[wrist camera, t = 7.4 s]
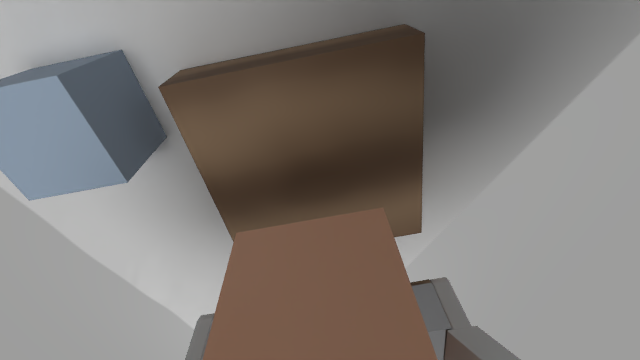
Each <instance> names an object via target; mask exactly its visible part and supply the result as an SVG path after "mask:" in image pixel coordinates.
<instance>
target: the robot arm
mask: <svg viewBox="0 0 640 360" xmlns="http://www.w3.org/2000/svg"><path fill="white" fill-rule="evenodd" d="M410 284H411V286H412V289H413V292H414V295H415V298H416V300H417V303H418V306H419V309H420V312H421V314H422V317H423V320H424V323H425V326H426V328H427V331H428V334H429V337H430V340H431V342H432V345H433V348H434V351H435V354H436V356H437V359H438V360H520V359H519V358H518V357H516V356H515V355H514V354H513V353H511V352H510V351H509V350H507V349H506V348H505V347H503V346H502V345H501V344H500V343H498V342H497V341H496V340H494V339H493V338H492V337H491V336H489V335H488V334H487V333H485V332H484V331H483V330H481V329H480V328H479V327H478V326H471V324H470V322H469V320H468V318H467V317H466V314H465V312H464V310H463V308H462V306H461V304H460V302H459V300H458V298H457V296H456V294H455V292H454V290H453V288H452V286H451V284H450V282H449V280H448V279H447V278H445V277H443V278H437V279H432V280H429V279H428V280H423V281H417V282H412V283H410ZM214 315H215V313H213V314H207V315H201V316H200V318H199V319H198V321H197V323H196V327H195V330H194V333H193V336H192V339H191V342H190V346H189V349H188V352H187V355H186V358H185V360H203V356H204V352H205V348H206V345H207V341H208V337H209V333H210V330H211V326H212V322H213V318H214Z"/></svg>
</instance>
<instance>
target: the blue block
mask: <svg viewBox="0 0 640 360" xmlns="http://www.w3.org/2000/svg"><path fill="white" fill-rule="evenodd" d="M166 137H167V136H166V134H165V132H164V130H163V128H162V126H161V124H160V123H159V121H158V119H157V117H156V115H155V113H154V111H153V109H152V107H151V105H150V103H149V101H148V99H147V98H146V96H145V94H144V92H143V90H142V88H141V86H140V84H139V82H138V80H137V78H136V76H135V74H134V72H133V71H132V69H131V67H130V65H129V63H128V61H127V59H126V57H125V55H124V53H123V51H122V50H119V51H114V52H109V53H104V54H100V55H95V56H90V57H86V58H81V59H76V60H71V61H67V62H62V63H57V64H52V65H48V66H43V67H38V68H34V69H30V70H27V71H24V72H21V73H18V74H15V75H12V76H9V77H6V78H3V79H0V170H1V171H2V172H3V173H4V174H5V175H6V176H7V177H8V178H9V180H10V181H11V182H12V183H13V184H14V185H15V186H16V187H17V188H18V189H19V190H20V191H21V192H22V193H23V195H24V196H25V197H26V198H27V199H28V200H29V201H30V200H35V199H40V198H46V197H51V196H57V195H62V194H68V193H73V192H79V191H84V190H89V189H95V188H100V187H106V186H111V185H117V184H122V183H127V182H128V181H129V180H130V179H131V178H132V177H133V176H134V174H135V173H136V172H137V171H138V170H139V169H140V167H141V166H142V165H143V164H144V163H145V162H146V160H147V159H148V158H149V157H150V156H151V155H152V153H153V152H154V151H155V150H156V149H157V148H158V146H159V145H160V144H161V143H162V142H163V141H164V139H165V138H166Z"/></svg>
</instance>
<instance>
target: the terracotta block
mask: <svg viewBox="0 0 640 360" xmlns="http://www.w3.org/2000/svg"><path fill="white" fill-rule="evenodd" d="M203 360H438V359H437V356H436V354H435V351H434V348H433V345H432V342H431V340H430V337H429V334H428V331H427V328H426V326H425V323H424V320H423V317H422V314H421V312H420V309H419V306H418V303H417V300H416V298H415V295H414V292H413V289H412V286H411V284H410V281H409V278H408V275H407V273H406V270H405V267H404V264H403V261H402V258H401V256H400V253H399V250H398V247H397V244H396V242H395V239H394V236H393V233H392V230H391V228H390V225H389V222H388V219H387V216H386V214H385V211H384V208H383V207H382V208H377V209H371V210H365V211H359V212H353V213H348V214H342V215H336V216H330V217H325V218H319V219H313V220H307V221H301V222H296V223H290V224H284V225H278V226H272V227H267V228H261V229H255V230H249V231H244V232H238V233H236V236H235V240H234V243H233V247H232V251H231V255H230V258H229V262H228V266H227V270H226V273H225V277H224V281H223V285H222V288H221V292H220V296H219V300H218V303H217V307H216V311H215V315H214V318H213V322H212V326H211V330H210V333H209V337H208V341H207V345H206V348H205V352H204V356H203Z"/></svg>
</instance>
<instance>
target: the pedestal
mask: <svg viewBox="0 0 640 360" xmlns="http://www.w3.org/2000/svg"><path fill="white" fill-rule="evenodd" d="M424 47H425V33H424V32H422V31H419V30H417V29H415V28H412V27H410V26H408V25H405V24H403V25H398V26H393V27H389V28H384V29H379V30H374V31H369V32H364V33H359V34H355V35H350V36H345V37H340V38H335V39H330V40H325V41H320V42H316V43H311V44H306V45H301V46H296V47H291V48H286V49H281V50H277V51H272V52H267V53H262V54H257V55H252V56H247V57H243V58H238V59H233V60H228V61H223V62H218V63H213V64H208V65H204V66H199V67H194V68H189V69H184V70H180V71H179V72H178V73H176V74H175V75H174V76H172V77H171V78H170V79H168V80H167V81H166V82H164V83H163V84H162V85H160V86H159V89H160V92H161V94H162V96H163V98H164V100H165V102H166V104H167V106H168V108H169V110H170V112H171V114H172V116H173V118H174V120H175V122H176V124H177V126H178V129H179V131H180V133H181V135H182V137H183V139H184V141H185V143H186V145H187V147H188V149H189V151H190V153H191V155H192V157H193V159H194V161H195V163H196V166H197V168H198V170H199V172H200V174H201V176H202V178H203V180H204V182H205V184H206V186H207V188H208V190H209V192H210V194H211V196H212V198H213V200H214V203H215V205H216V207H217V209H218V211H219V213H220V215H221V217H222V219H223V221H224V223H225V225H226V227H227V229H228V231H229V233H230V235H231V237H232V240H233V242H234V240H235V236H236V233H238V232H244V231H249V230H255V229H261V228H267V227H272V226H278V225H284V224H290V223H296V222H301V221H307V220H313V219H319V218H325V217H330V216H336V215H342V214H348V213H353V212H359V211H365V210H371V209H377V208H382V207H383V208H384V211H385V214H386V216H387V219H388V222H389V225H390V228H391V230H392V233H393V236H394V237H398V236H404V235H410V234H417V233H421V227H422V167H423V107H424Z"/></svg>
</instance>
